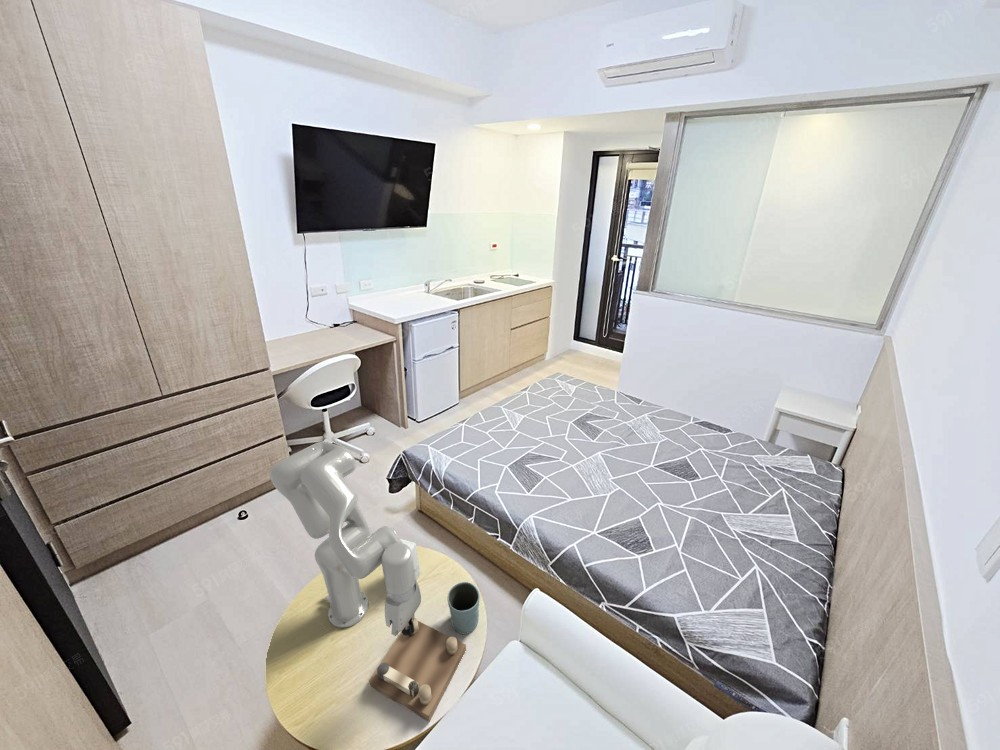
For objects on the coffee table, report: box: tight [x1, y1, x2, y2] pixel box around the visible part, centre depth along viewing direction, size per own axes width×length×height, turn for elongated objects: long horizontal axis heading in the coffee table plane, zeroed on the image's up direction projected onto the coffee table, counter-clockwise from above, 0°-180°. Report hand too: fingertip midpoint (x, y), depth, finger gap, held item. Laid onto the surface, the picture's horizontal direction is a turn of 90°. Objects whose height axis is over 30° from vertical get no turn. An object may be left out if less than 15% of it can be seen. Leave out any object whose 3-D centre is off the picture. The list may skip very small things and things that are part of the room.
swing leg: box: [376, 662, 419, 697], centre depth 112 cm, size 13×3×3 cm, turn 65°
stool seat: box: [368, 617, 467, 723], centre depth 117 cm, size 20×20×6 cm
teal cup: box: [446, 581, 480, 635], centre depth 129 cm, size 10×10×12 cm
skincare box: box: [400, 538, 421, 581], centre depth 142 cm, size 8×7×16 cm
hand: (408, 631), depth 111 cm, fingers closed
